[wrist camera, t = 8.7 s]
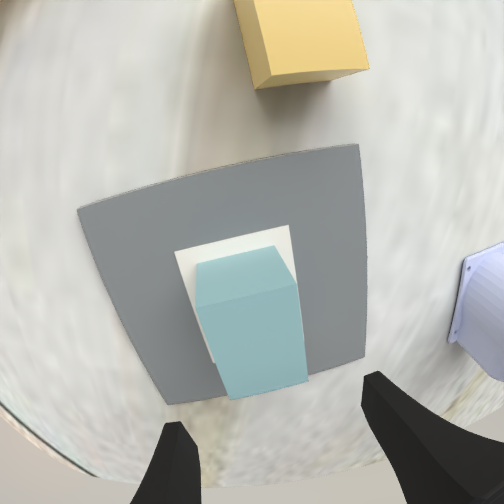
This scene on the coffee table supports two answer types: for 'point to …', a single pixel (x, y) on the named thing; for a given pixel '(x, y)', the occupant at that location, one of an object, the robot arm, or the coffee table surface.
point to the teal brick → (252, 321)
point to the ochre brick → (300, 40)
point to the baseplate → (230, 243)
